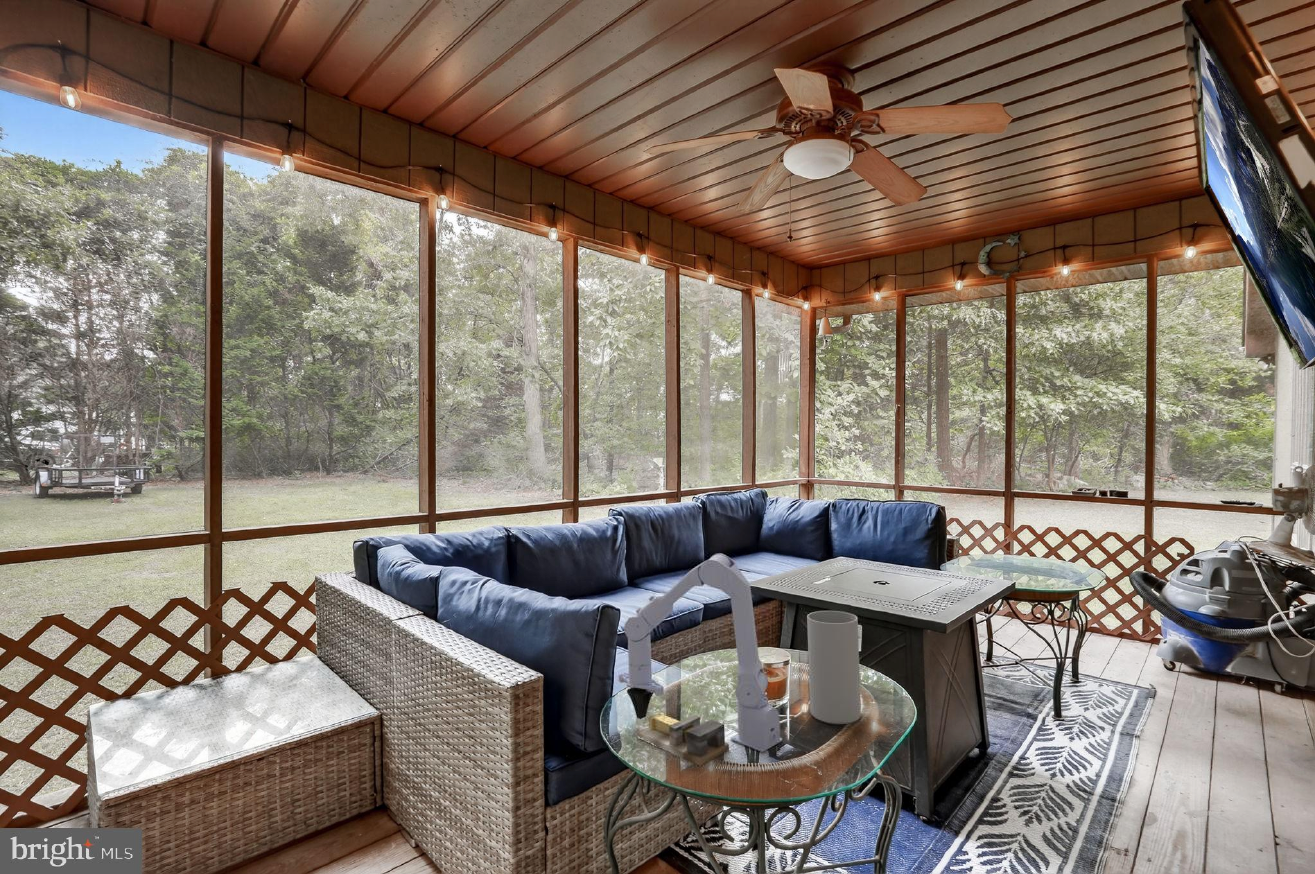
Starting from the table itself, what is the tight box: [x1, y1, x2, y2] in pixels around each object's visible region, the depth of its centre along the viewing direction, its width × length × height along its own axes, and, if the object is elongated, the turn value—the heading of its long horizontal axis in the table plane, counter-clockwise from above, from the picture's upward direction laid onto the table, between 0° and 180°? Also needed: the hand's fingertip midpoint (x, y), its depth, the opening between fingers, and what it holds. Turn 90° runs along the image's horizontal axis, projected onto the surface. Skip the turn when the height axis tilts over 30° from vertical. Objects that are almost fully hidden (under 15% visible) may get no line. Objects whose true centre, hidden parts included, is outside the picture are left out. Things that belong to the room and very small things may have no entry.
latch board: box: [637, 714, 730, 767], centre depth 151 cm, size 20×10×6 cm, turn 44°
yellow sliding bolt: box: [648, 712, 694, 742], centre depth 153 cm, size 12×4×2 cm, turn 44°
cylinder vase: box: [806, 610, 862, 725], centre depth 164 cm, size 12×12×25 cm
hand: (641, 717), depth 161 cm, fingers closed
